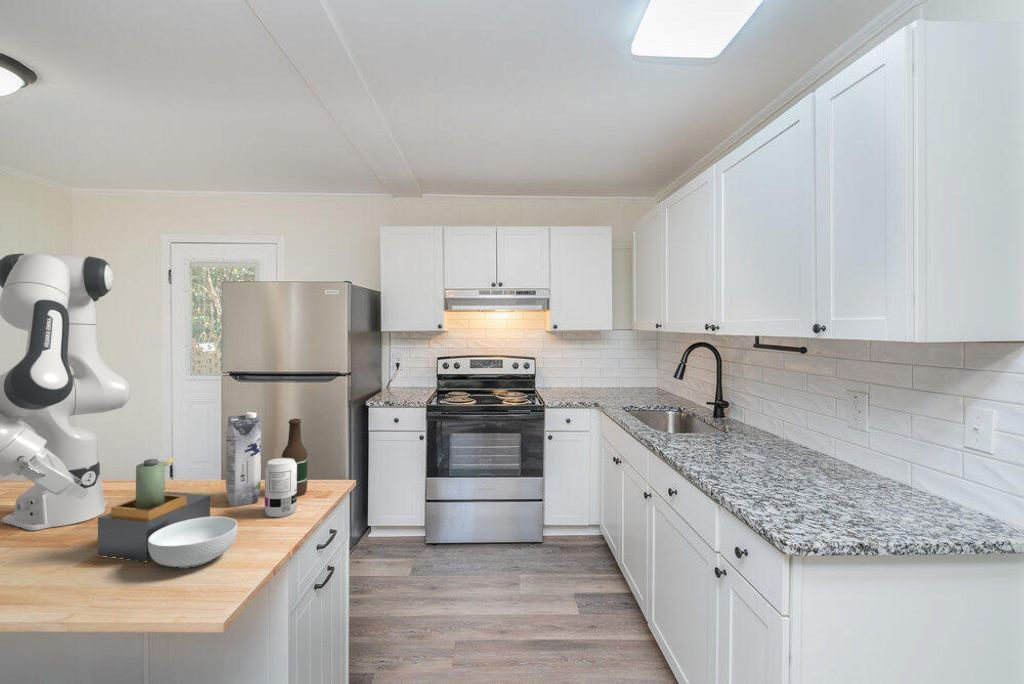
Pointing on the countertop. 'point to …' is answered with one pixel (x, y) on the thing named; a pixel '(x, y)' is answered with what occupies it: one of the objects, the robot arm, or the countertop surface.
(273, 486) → the supplement can
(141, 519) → the box
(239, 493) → the juice carton
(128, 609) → the countertop surface
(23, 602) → the countertop surface
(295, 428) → the beer bottle
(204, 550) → the cereal bowl
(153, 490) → the oil can
